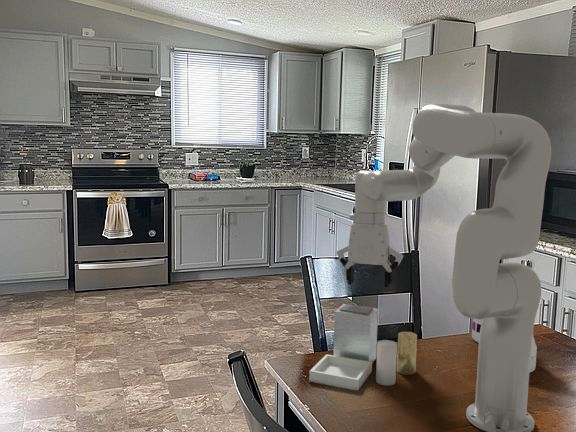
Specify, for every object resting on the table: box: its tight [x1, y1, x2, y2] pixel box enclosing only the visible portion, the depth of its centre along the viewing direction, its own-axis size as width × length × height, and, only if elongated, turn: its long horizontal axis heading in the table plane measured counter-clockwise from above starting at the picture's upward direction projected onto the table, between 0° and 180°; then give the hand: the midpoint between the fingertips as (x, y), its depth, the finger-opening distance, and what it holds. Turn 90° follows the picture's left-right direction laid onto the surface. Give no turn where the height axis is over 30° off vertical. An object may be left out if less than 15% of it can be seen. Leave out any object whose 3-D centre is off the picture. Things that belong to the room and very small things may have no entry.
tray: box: [308, 353, 373, 392], centre depth 133 cm, size 11×11×2 cm
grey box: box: [333, 303, 379, 364], centre depth 143 cm, size 7×9×13 cm
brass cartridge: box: [396, 331, 418, 376], centre depth 137 cm, size 4×4×9 cm
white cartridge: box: [375, 339, 398, 386], centre depth 131 cm, size 4×4×9 cm
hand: (368, 285), depth 149 cm, fingers open, 9 cm apart
